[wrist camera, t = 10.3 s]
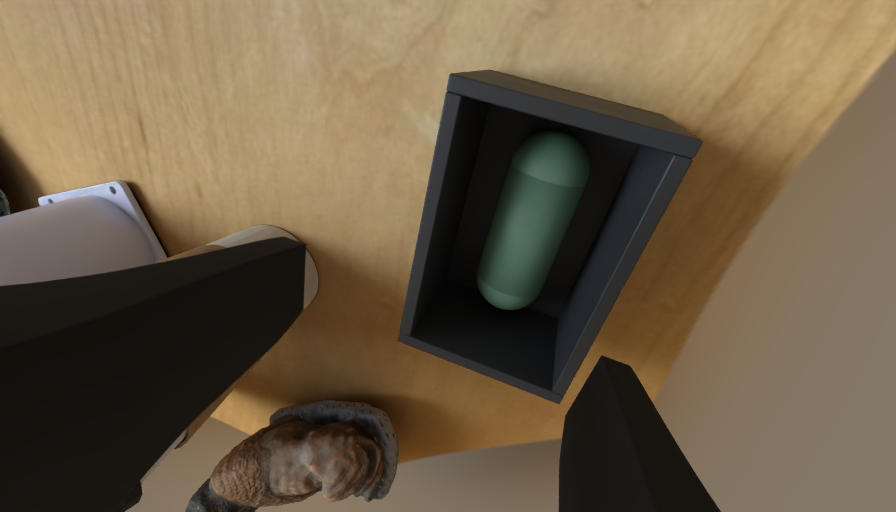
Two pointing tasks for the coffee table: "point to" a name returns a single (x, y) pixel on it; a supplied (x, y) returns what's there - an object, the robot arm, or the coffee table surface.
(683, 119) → the coffee table surface
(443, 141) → the bin
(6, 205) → the rock
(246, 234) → the coffee cup
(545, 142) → the green medicine capsule
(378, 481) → the bison figurine
